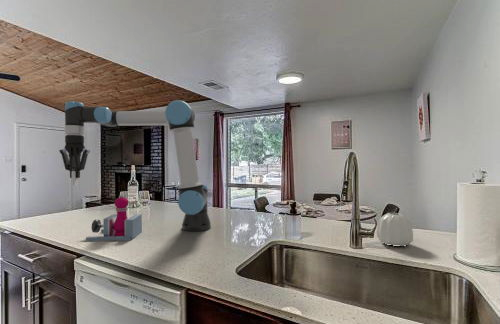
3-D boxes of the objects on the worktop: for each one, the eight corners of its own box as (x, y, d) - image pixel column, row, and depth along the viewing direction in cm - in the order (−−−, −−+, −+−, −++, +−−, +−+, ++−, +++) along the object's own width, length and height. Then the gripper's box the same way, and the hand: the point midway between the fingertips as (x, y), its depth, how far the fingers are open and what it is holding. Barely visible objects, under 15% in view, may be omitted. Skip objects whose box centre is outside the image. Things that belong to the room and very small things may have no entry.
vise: (142, 231, 139) (142, 213, 139) (131, 240, 124) (131, 220, 124) (102, 231, 138) (102, 214, 138) (86, 240, 123) (86, 220, 123)
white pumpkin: (370, 241, 123) (370, 211, 123) (393, 238, 128) (393, 209, 128) (396, 251, 110) (396, 218, 110) (420, 247, 115) (421, 215, 115)
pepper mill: (123, 238, 127) (123, 195, 127) (109, 237, 129) (109, 194, 128) (133, 234, 134) (133, 193, 134) (120, 233, 136) (120, 193, 135)
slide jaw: (118, 232, 136) (118, 214, 136) (109, 238, 126) (109, 218, 126) (100, 232, 136) (100, 214, 136) (89, 238, 126) (89, 219, 126)
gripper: (93, 135, 134) (93, 184, 134) (65, 135, 133) (65, 184, 134) (84, 134, 126) (84, 185, 127) (55, 134, 126) (55, 185, 126)
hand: (75, 185), depth 130 cm, fingers closed
